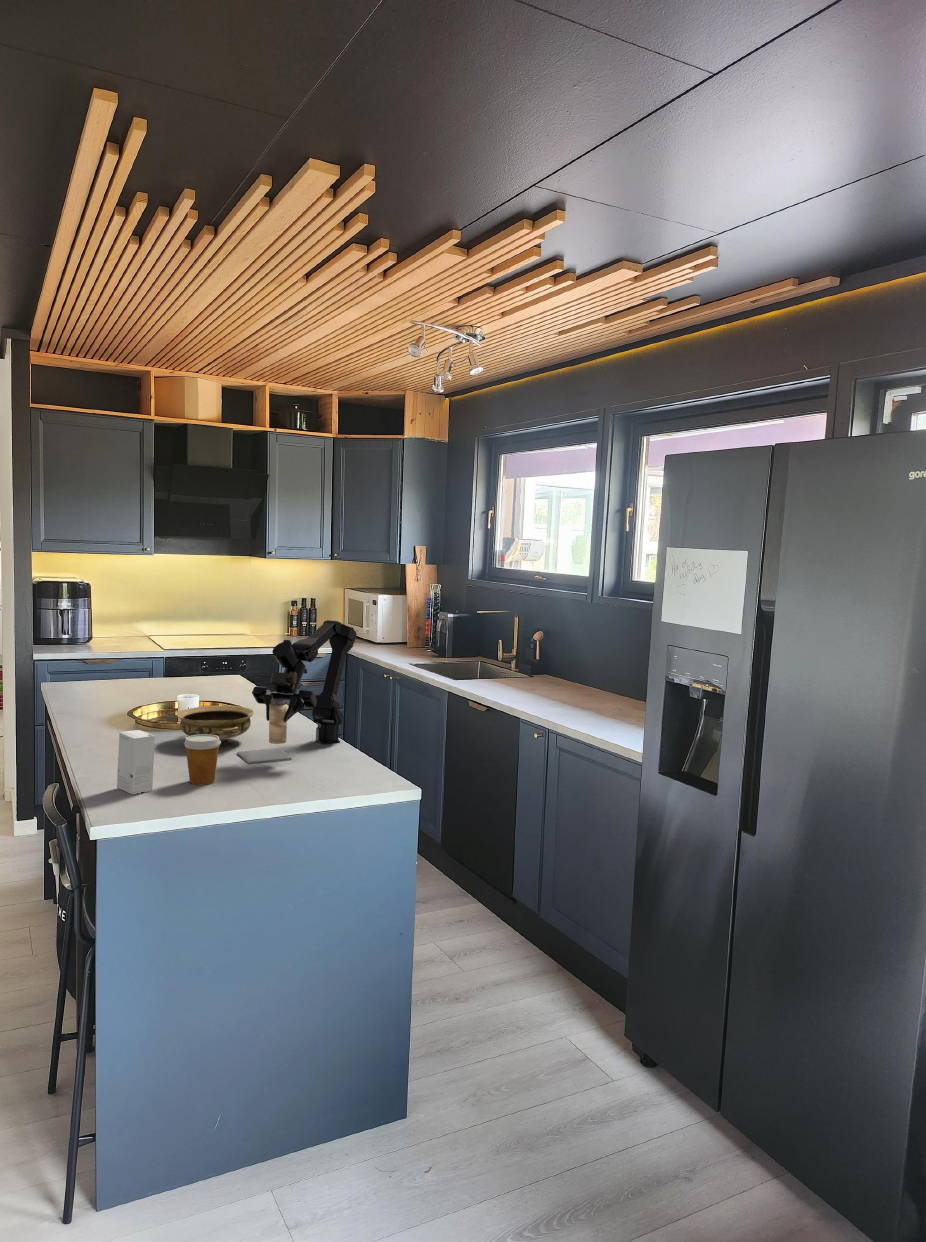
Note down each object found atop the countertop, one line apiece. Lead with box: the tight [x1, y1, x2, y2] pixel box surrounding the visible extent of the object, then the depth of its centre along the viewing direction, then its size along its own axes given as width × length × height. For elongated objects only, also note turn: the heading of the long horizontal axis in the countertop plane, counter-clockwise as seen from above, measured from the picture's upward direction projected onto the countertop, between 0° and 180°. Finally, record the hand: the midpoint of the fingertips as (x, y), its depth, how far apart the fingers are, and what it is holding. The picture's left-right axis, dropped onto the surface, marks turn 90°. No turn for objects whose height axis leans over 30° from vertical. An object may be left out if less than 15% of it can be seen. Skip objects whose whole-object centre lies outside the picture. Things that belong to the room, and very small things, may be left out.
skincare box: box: [116, 729, 156, 795], centre depth 215 cm, size 8×6×15 cm
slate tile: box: [236, 747, 293, 765], centre depth 254 cm, size 13×13×1 cm
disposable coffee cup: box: [183, 734, 221, 786], centre depth 225 cm, size 10×10×12 cm
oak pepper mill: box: [268, 699, 288, 745], centre depth 245 cm, size 5×5×12 cm
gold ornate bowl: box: [176, 705, 255, 746], centre depth 269 cm, size 30×24×10 cm
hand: (275, 720), depth 244 cm, fingers closed on oak pepper mill, 5 cm apart
